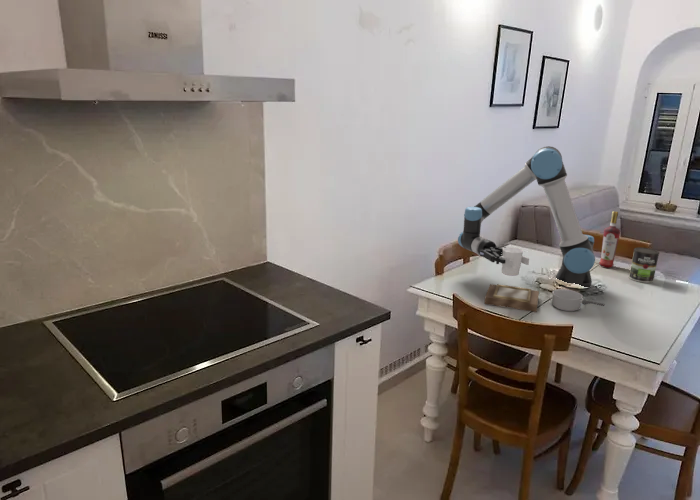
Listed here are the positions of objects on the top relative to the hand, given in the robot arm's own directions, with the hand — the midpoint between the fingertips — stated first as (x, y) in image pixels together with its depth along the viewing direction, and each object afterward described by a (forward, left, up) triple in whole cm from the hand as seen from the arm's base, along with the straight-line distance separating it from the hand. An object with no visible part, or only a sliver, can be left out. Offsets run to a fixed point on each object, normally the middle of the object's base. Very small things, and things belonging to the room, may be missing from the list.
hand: (519, 262), depth 204 cm
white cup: (+3, -3, -6) cm, 8 cm away
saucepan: (-23, -4, -18) cm, 30 cm away
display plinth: (+2, -3, -18) cm, 18 cm away
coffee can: (-52, -56, -18) cm, 79 cm away
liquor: (-38, -70, -18) cm, 82 cm away
